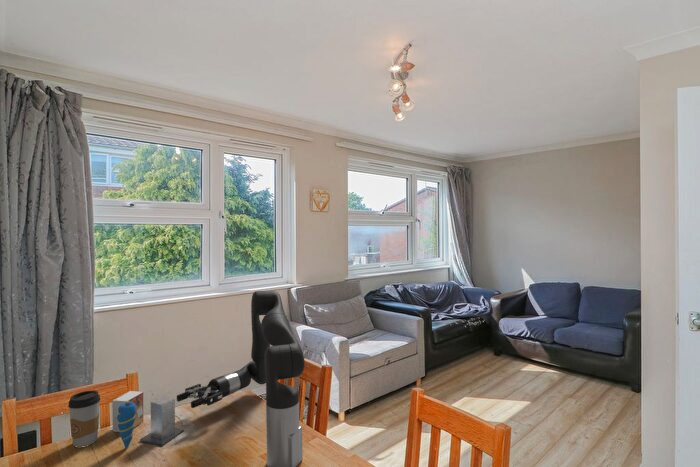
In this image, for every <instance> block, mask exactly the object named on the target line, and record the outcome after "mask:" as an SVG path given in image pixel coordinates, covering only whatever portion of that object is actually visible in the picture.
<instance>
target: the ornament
mask: <svg viewBox="0 0 700 467" xmlns="http://www.w3.org/2000/svg"><path fill="white" fill-rule="evenodd" d="M118 412H119V414H118V416H117V420H118V422H119V424H118V427H119V429H120V432H119V437H120V438H121V441H122V443H123V446H124V448H125V449H128V448H129V446H130V444H131V442H132V439H133V436H134V434H133V433H134V421H135V413H136V405H135V404H134V403H132V402H129V401H126V403H124V404H122V405H120V406H119V408H118Z"/></svg>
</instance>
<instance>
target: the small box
mask: <svg viewBox="0 0 700 467" xmlns="http://www.w3.org/2000/svg"><path fill="white" fill-rule="evenodd" d="M126 401H129V402H132V403H134V404H135V405H136V413H135V421H134V428H136V427H137V426H139V425H141V424H143V422H144V420H145V419H144V417H145V416H144V392H143V391H135V390H134V391H133V390H129V391H127V392H126V393H124V394H122V395H120V396H118V397H117V398H114V399H113V400H112V401H111V403H112V404H111V405H112V407H111V408H112V413H111V414H112V432H113V433H115V432H116V433H120V429H119V427H118V424H119V422H118V420H117V416H118V414H119V412H118V408H119V406H120V405H122V404H124V403H126Z"/></svg>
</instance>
